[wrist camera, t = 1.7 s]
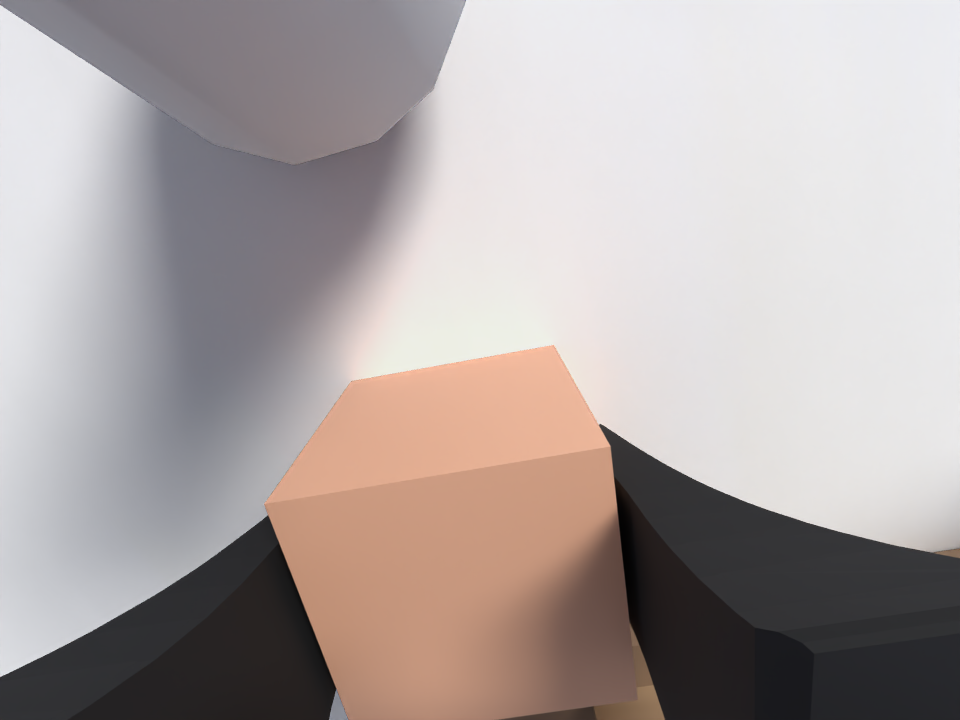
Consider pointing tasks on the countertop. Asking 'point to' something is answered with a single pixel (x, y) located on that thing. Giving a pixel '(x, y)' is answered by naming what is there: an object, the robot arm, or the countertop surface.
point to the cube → (461, 544)
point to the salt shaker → (263, 63)
